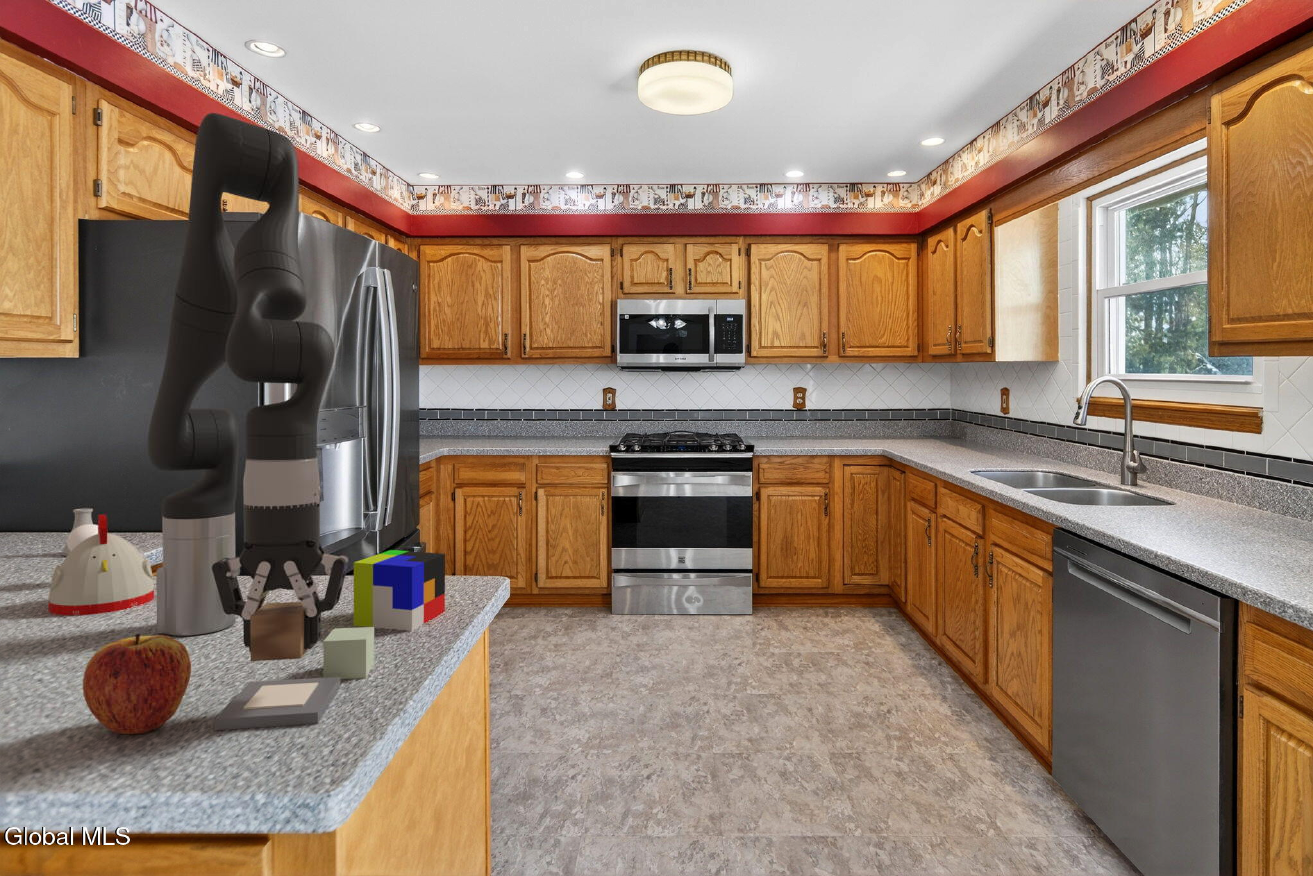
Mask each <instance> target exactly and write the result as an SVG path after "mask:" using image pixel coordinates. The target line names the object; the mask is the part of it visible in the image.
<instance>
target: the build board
mask: <svg viewBox="0 0 1313 876" xmlns="http://www.w3.org/2000/svg"><path fill="white" fill-rule="evenodd" d="M340 687H341V679H340V677H328V678H324V677H312V678H311V677H310V678H295V679H280V680H279V679H277V680H258V681H250V682H248V683H247V685H246V686H245V687H244V688H243V689H242V690H241V691H240V692H239V693H238V694H237V695H236V696H235V697H234V698H233V699H232V701H231V702H229V703H228V705H227V706H225V708H224V709H223V710H221V712H220V713H219V714H218V715H217V717H216V718H214V731H222V730H223V731H224V730H225V731H226V730H239V729H240V730H241V729H252V728H268V727H281V726H282V727H284V726H296V725H299V726H300V725H312V724H319V722H320V721H321V719H322V718H323V716H324V714H325V712H326V711H327V709H328V707H329V706H330V704H331V702H332V701H333V699H334V698H335V696H336V694H337V692H338V691H339V690H340Z"/></svg>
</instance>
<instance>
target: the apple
mask: <svg viewBox="0 0 1313 876" xmlns="http://www.w3.org/2000/svg"><path fill="white" fill-rule="evenodd" d="M191 675H192V661H191V656H190V654H189V651H188V649H187V647H186V646H185V645H184V644H183V643H182V642H181V641H178V640H177V639H175V638H173V637H170V636H167V635H164V634H163V635H162V634H159V635H141V633H136V634H135V635H134V636H132V637H125V638H123V639H122V638H121V639H118V640H116V641H115V640H114V641H111V642H109V643H107V644H105V645H104V646H102V647H101V648H99V649H98V650H97V651H95V653H94V654H93V655H92V656H91V658H90V659H89V661H88V662H87V665H86V667H85V669H84V674H83V678H82V679H83V680H82V693H83V699H84V700H85V703H86V705H87V707H88V709H89V711H90V713H92V716H93V717H94V718H95V719H96V720H97V721H98V722H99V723H100V724H101V725H102V726H103V727H104V728H106V729H107V730H109V731H111V732H113V733H116V734H122V735H135V734H136V735H137V734H145V733H148V732H151V731H153V730H156V729H158V728H160V727H162V726H163V725H165V724H166V723H167V722H168V721H169V720H171V718H172V717H173V716H174V715H175V714H176V712H177V710H178V709H179V707H180V705H181V703H182V701H183V698H184V697H185V694H186V692H187V689H188V687H189V684H190V680H191Z"/></svg>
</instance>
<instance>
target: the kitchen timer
mask: <svg viewBox="0 0 1313 876" xmlns="http://www.w3.org/2000/svg"><path fill="white" fill-rule="evenodd" d="M97 522H98V523H97V525H98V534H96V535H93V536H91V537H89V538H87V539H85V540H84V541H82V542H81V543H80V544H78V545H77V546H76V547H75V548H74V549H73V550H72V551H71V552H70V553H69V554H68V556H65V558H64V559H63V561H62V562H61V564H60V565H57V566H56V567H55V569H54V571H53V573H52V577H51V582H50V587H49V590H50V592H49V596H48V611H49V612H50V613H51V614H53V615H57V616H59V615H60V616H88V615H89V616H90V615H98V614H99V615H100V614H104V613H105V614H107V613H114V612H118V611H119V612H120V611H124V610H128V609H127V608H129V609H133V608H135V607H134V606H137V607H140V606H142V605H141V604H143V605H145V604H148V603H150V602H151V601H153V600H154V598H155V585H154V579H153V577H154V575H153V572H152V568H151V564H150V560H149V559H147V558H146V557H145V556H143V555H142V554H141V553H140V552H139V550H138V549H137V548H136V547H135V545H133V544H131V543H130V542H129V541H128V540H126V539H125V538H122V536H118V535H116V534H112V533H108V518H107V514H98V520H97ZM152 599H153V600H152ZM149 601H150V602H149ZM147 602H148V603H147ZM144 603H145V604H144ZM139 605H140V606H139ZM132 607H133V608H132Z"/></svg>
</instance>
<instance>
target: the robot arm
mask: <svg viewBox="0 0 1313 876" xmlns="http://www.w3.org/2000/svg"><path fill="white" fill-rule="evenodd" d="M195 139H196V140H195V145H194V153H193V154H194V156H193V165H192V172H191V173H192V176H191V184H190V185H191V186H190V198H189V206H188V207H189V209H188V220H187V227H186V234H185V235H186V236H185V241H184V246H183V252H182V256H181V262H180V266H179V271H178V276H177V280H176V286H175V292H174V297H173V304H172V310H171V316H170V317H171V318H170V326H169V335H168V340H167V341H168V343H167V349H166V356H165V357H166V358H165V362H164V368H163V373H162V377H161V380H160V384H159V388H158V392H157V396H156V399H155V403H154V406H153V411H152V415H151V419H150V421H149V422H150V424H149V427H148V435H147V453H148V457H149V461H150V463H151V464H152V465H153V466H154V468H156V469H158V470H160V471H169V472H172V471H173V472H174V471H175V472H176V471H177V472H179V471H194V470H195V471H199V470H200V471H201V470H204V474H203V476H202V477H201V479H200V480H198V481H197V482H196V483H194V484H193V485H190V486H188V487H186V488H184V489H182V490H179V491H176V492H174V493H172V494H169V495H166V496H165V498H163V500H162V502H161V516H162V517H161V518H162V519H161V521H162V527H161V528H162V566H161V567H159V568H157V569H156V575H155V576H156V584H155V585H156V588H155V589H156V633H157V634H167V635H172V636H193V635H203V634H209V633H213V632H214V633H215V632H218V631H221V630H225V629H227V628H229V627H232V626H233V625H235V623H236V616H238V617H240V618H241V619H242V621H243V622H242V623H243V624H242V625H243V626H242V628H243V629H242V630H243V645H244V647H245V648H248V651H249V653H251V632H250V616H251V615H252V614H253V613H255V612H256V611H257V610H258V609H260V608H261V607H262V606H263V605H264V603H265V601H266V598H267V596H268V595H269V592H271V591H272V592H273V591H275V590H279V589H281V590H285V591H294V593H295V595H296V598H297V599H298V600H299V602H301V603H302V606H303V608H304V611H305V613H306V617H305V618H304V649H308V650H312V649H313V648H314V647H315V645H316V644H317V643H318V642H319V641H320V638H321V637H322V613H324V612H326V611H329V612H330V611H332V610H333V609H334V608H335V606H336V605H338V603H339V601H340V599H341V595H342V590H343V588H344V587H343V586H344V583H345V578H346V575H347V571H348V567H349V563H350V558H349V556H348V555H347V554H342V555H340V556H338V555H334V554H328V553H325V551H324V549H323V548H322V545H321V542H320V540H321V537H320V536H321V532H320V531H321V528H320V527H321V525H320V524H321V523H320V522H321V521H320V520H321V517H320V514H321V513H320V511H321V510H320V502H321V501H320V500H321V499H320V498H321V487H320V483H321V482H320V472H319V467H318V419H319V413H320V408H321V404H322V403H321V402H322V399H323V394H324V391H325V387H326V385H327V381H328V378H329V376H330V372H331V369H332V367H333V362H334V359H335V346H334V342H333V339H332V337H331V334H330V333H329V332H328V331H327V329H326V328H325V327H323V325H321V324H319V323H315V322H311V321H300V320H299V321H298V320H296V319H298V318H300V317H301V316H302V315H303V314H304V312H305V311H306V308H307V304H308V303H307V293H306V288H305V287H306V286H305V281H304V275H303V272H302V271H303V269H302V266H301V265H302V264H301V261H300V253H299V252H300V251H299V220H300V219H299V216H300V212H299V211H300V210H299V209H300V205H299V204H300V203H299V202H300V201H299V199H300V197H299V196H300V193H299V191H300V190H299V188H300V186H299V184H300V183H299V181H300V179H299V177H300V176H299V163H298V162H299V160H298V155H297V151H296V148H295V145H294V144H293V142H292V141H291V140H290V138H288V137H287V136H286V135H283V134H281V133H280V132H276V131H274V130H271V129H268V128H264V127H261V126H257V125H255V124H252V123H250V122H246V121H242V120H239V119H237V118H234V117H231V116H228V115H225V114H220V113H216V112H209V113H207V114H206V115H205V116H204V117H203V119H202V121H201V123H200V124H199V127H198V131H197V134H196V138H195ZM223 193H225V194H226V193H227V194H229V195H232V196H237V197H241V198H245V199H248V200H249V199H250V200H252V201H257V202H262V203H268V204H269V205H268V208H267V210H266V211H265V212H264V214H263V215H261V216H260V217H259V218H258V219H257V220H256V221H255V222H254V223H253V224H252V225H250V227H248V228H247V230H245V232H244V233H243V234H242V235H241V236H240V238H239V240H238V241H237V243H236V246H235V248H234V245H233V243H232V241H231V239H230V236H229V233H228V231H227V228H226V224H225V221H224V218H223V211H222V197H223ZM295 320H296V321H295ZM225 364H227V366H228V368H229V370H230V371H231V372H232V373H233V375H235V376H236V377H237V378H239V379H240V380H242V381H244V382H247V383H248V382H249V383H260V384H261V383H262V384H263V383H264V384H295V385H296V389H295V392H294V393H293V395H292V396H291V397H290V398H288V399H286V400H284V401H281V402H275V403H269V404H263V405H259V406H255V407H252V408H250V409H249V410H248V411H247V414H246V416H245V466H244V474H243V483H242V484H243V549H242V551H241V553H240V554H239V556H236V498H237V489H238V488H237V487H238V485H237V484H238V463H239V462H238V460H239V446H240V444H239V442H240V441H239V440H240V438H239V437H240V436H239V434H240V433H239V426H238V423H237V420H236V418H235V416H234V414H233V413H232V412H231V411H230V410H229V409H228V410H227V409H223V408H191V406H192V404H193V401H194V400H195V398H196V395H197V394H198V392H199V391H200V389H201V387H202V386H204V384H205V383H206V382H207V380H209V378H211V377H212V376H213V375H214V374H215V373H216V372H217V371H218V370H219V369H220V368H221V367H223V365H225ZM321 564H322V565H324V571H325V573H326V574H327V576H329V579H328V583H327V587H326V590H325V593H324V597H323V598H320V597H321V596H320V595H319V592H318V587H317V583H316V581H315V578H314V577H313V574H314V573H315V572H316V571H317V569H318V568H319V567H320V565H321ZM241 568H243V570H244V571H245V572H246V573H247V574H248V576H250V578H251V579H252V580H253V582H252V583H251V586H250V589H249V591H248V594H247V596H246V601H245V600H244V599H243V594H242V591H241V588H240V587H241V586H240V584H239V581H238V580H239V579H238V577H237V576H239V575H240V573H241Z"/></svg>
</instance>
